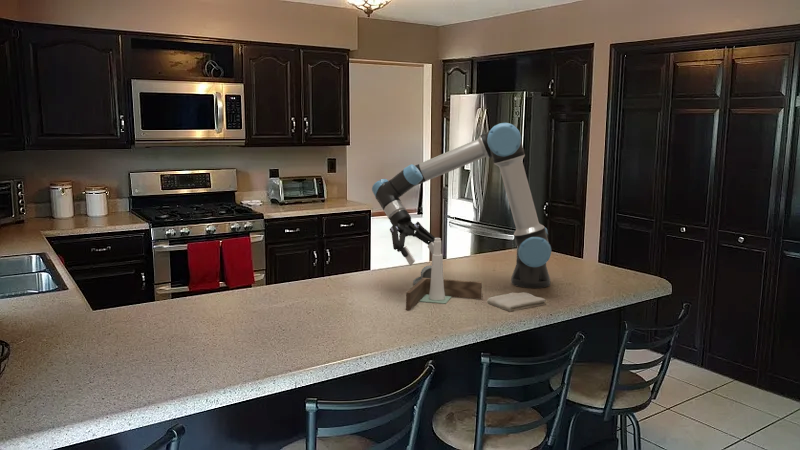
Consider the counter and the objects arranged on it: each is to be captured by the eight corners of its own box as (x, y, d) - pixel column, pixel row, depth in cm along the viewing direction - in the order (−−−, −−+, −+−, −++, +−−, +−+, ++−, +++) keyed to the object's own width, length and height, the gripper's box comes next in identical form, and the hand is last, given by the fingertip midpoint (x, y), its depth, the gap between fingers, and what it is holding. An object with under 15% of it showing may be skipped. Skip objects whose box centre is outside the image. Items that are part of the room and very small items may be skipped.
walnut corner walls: (481, 298, 222) (482, 282, 221) (470, 315, 201) (470, 297, 200) (423, 293, 228) (423, 277, 228) (405, 309, 207) (406, 292, 206)
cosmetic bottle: (433, 301, 217) (433, 240, 213) (425, 297, 222) (426, 237, 219) (448, 299, 219) (449, 238, 216) (440, 295, 225) (441, 236, 221)
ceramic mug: (437, 281, 246) (437, 263, 245) (441, 286, 238) (441, 267, 237) (411, 282, 245) (411, 264, 244) (414, 287, 237) (414, 268, 236)
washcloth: (547, 305, 215) (548, 297, 214) (509, 313, 205) (510, 304, 205) (523, 298, 225) (524, 289, 224) (486, 305, 215) (486, 296, 215)
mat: (451, 297, 223) (451, 296, 223) (445, 304, 214) (445, 303, 214) (426, 294, 226) (426, 294, 226) (419, 301, 217) (419, 300, 217)
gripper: (416, 218, 241) (443, 261, 232) (368, 224, 224) (395, 271, 215) (426, 206, 236) (454, 250, 228) (377, 211, 219) (406, 259, 211)
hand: (426, 260), depth 221 cm, fingers open, 13 cm apart
